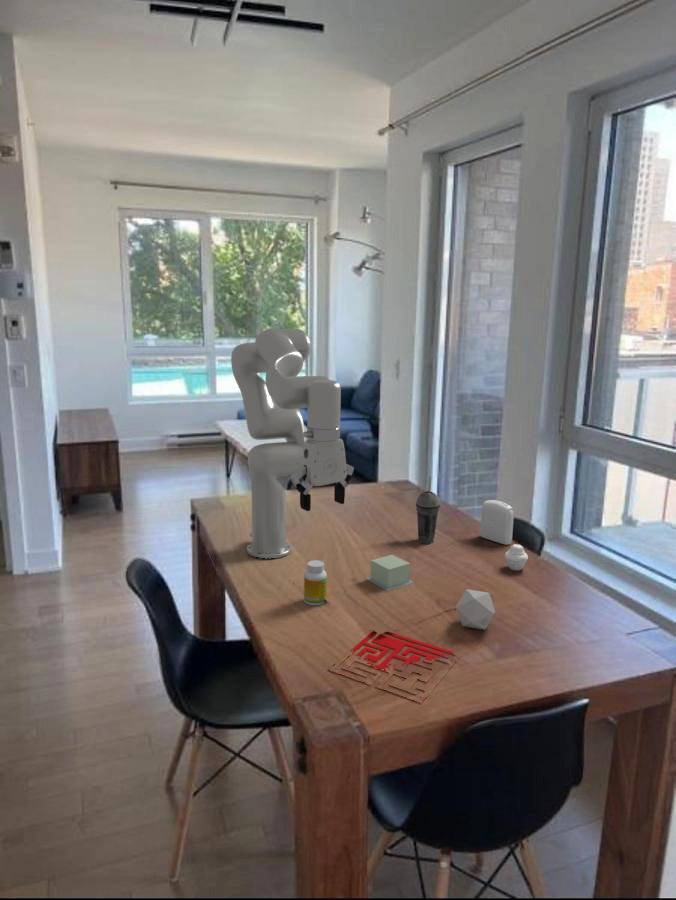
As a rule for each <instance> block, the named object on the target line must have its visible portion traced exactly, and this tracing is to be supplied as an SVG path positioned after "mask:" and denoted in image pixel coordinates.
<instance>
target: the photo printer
mask: <svg viewBox="0 0 676 900" xmlns="http://www.w3.org/2000/svg"><path fill="white" fill-rule="evenodd" d="M514 518H515V510H514V508H513V507H512V506H511V505H509V504H508V503H505V502H503V501H500V500H495V499H491V500H485V501H484V502H483V504H482V507H481V520H480V537H481V538H483V539H487V540H489V541H491V542H496V543H498V544H502V545H505V546H507V545H511V544H512V542H513V534H514V533H513V531H514V530H513V529H514Z"/></svg>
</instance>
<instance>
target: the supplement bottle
mask: <svg viewBox="0 0 676 900" xmlns="http://www.w3.org/2000/svg"><path fill="white" fill-rule="evenodd" d="M306 568H307V570H306V571H305V572H304V577H303V583H304V584H303V588H304V589H303V601H304V603H306V604H307V605H310V606H321V605H324V604H325V603H326V602H327V599H326V598H327V596H328V594H327V593H328V592H327V591H328V586H327V585H328V584H327V583H328V581H327V580H328V577H327V576H328V575H327V572H326V571H325V563H324V562H323V561H322V560H318V559H315V560H310V561H308V562H307V564H306Z"/></svg>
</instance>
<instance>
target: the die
mask: <svg viewBox="0 0 676 900" xmlns="http://www.w3.org/2000/svg"><path fill="white" fill-rule="evenodd" d="M455 609H456V612H457V615H458V618H459V620H460V624H461V626H462V627H466V628H472V629H477V630H482V629H483V630H484V631H485V630H486V629H487V627H488V625H489V623H490V622H491V620H492V618H493V616H494V615H495V613H496V610H495V607H494V603H493V601H492V598H491V594H490V592H485V591H481V590H473V589H467V588H466V589H465V591H464V592H463V594H462V595H461V597H460V599H459V601H458V602H457V604H456V606H455Z"/></svg>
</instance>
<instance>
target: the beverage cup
mask: <svg viewBox="0 0 676 900" xmlns="http://www.w3.org/2000/svg"><path fill="white" fill-rule="evenodd" d="M428 479H429V480H428V491H427V490H425V491H423V492H422V493H420V494H419V495H418V497H417V499H416V501H415V507H416V512H417V513H416V514H417V536H418V537H417V538H418V542H420V543H421V544H426V545H427V544H428V545H429V544H432V543H434V542H435V541H434V539H435V535H436V528H437V521H438V513H439V511H440V507H441V504H440V498H439V496H437V494H436V493H435V492H433V491H431V482H432V476H429V478H428Z"/></svg>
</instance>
